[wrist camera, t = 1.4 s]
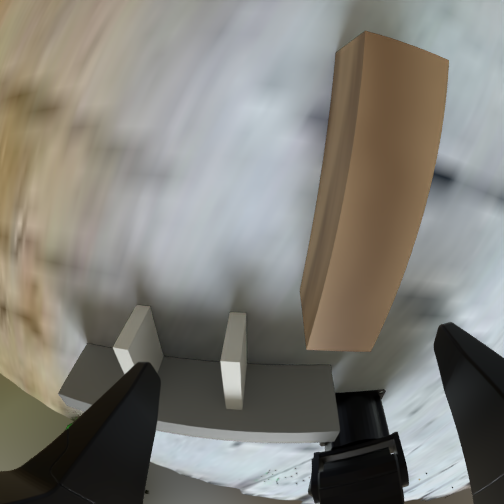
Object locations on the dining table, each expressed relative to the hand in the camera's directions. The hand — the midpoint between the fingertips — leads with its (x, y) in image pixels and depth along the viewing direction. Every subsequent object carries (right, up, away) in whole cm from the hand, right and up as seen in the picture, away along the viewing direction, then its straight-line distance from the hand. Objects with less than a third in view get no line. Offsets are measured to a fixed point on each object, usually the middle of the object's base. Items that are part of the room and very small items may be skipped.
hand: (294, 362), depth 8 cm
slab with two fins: (-6, -5, +16) cm, 18 cm away
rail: (+5, +7, +9) cm, 13 cm away
